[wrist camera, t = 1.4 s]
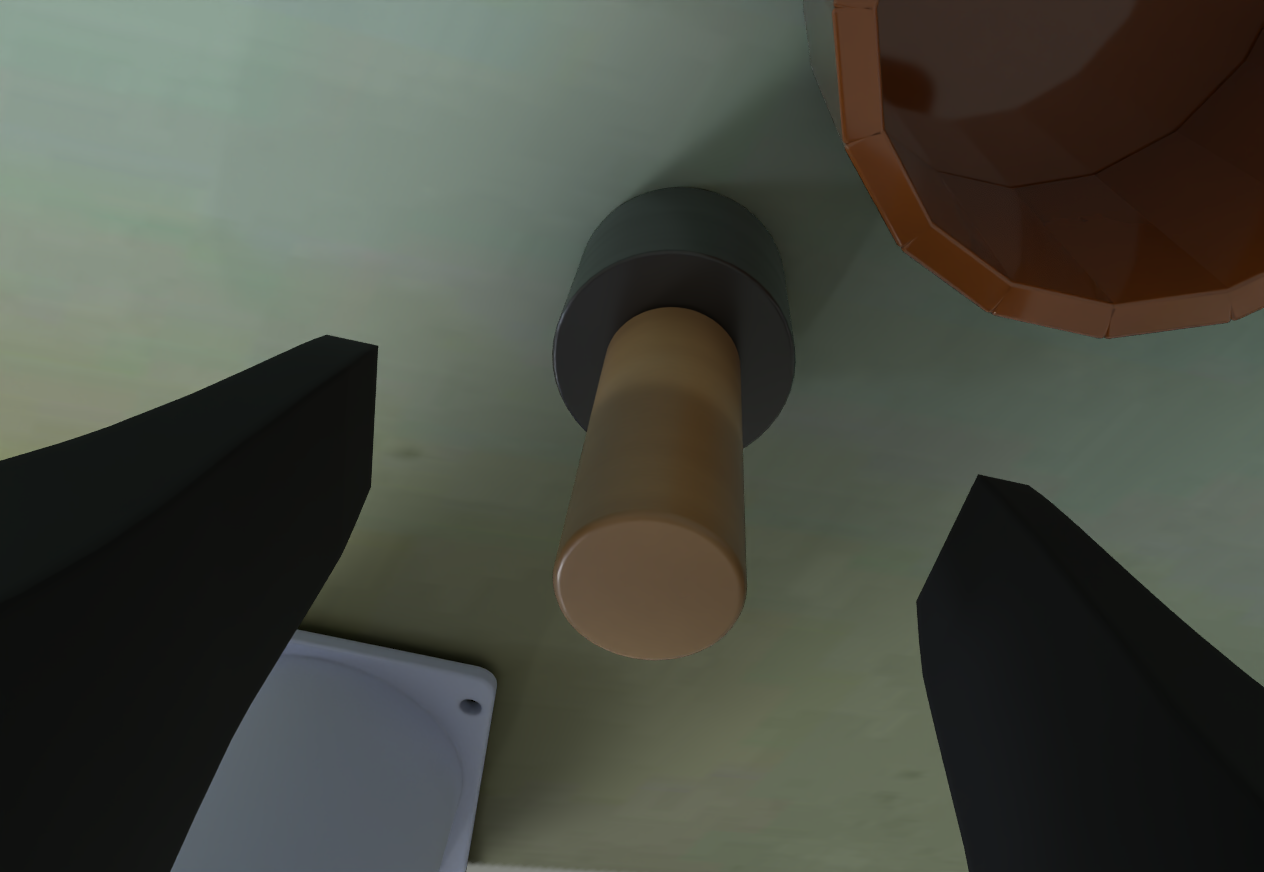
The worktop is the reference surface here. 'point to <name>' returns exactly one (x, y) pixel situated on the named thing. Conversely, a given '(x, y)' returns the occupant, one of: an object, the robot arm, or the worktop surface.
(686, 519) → the brush
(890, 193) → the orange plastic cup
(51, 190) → the worktop surface
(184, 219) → the worktop surface
